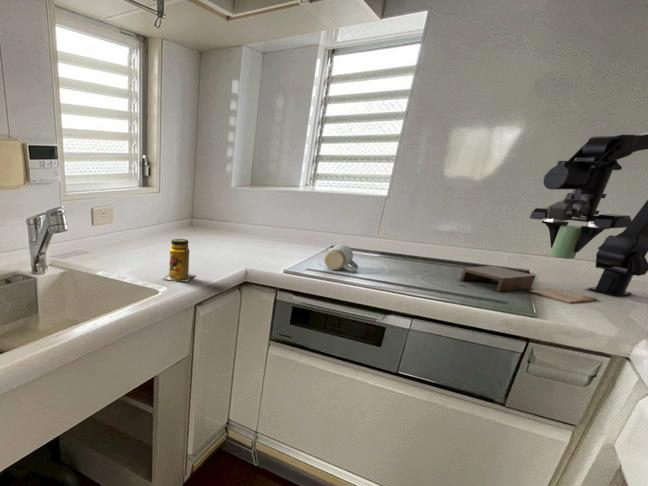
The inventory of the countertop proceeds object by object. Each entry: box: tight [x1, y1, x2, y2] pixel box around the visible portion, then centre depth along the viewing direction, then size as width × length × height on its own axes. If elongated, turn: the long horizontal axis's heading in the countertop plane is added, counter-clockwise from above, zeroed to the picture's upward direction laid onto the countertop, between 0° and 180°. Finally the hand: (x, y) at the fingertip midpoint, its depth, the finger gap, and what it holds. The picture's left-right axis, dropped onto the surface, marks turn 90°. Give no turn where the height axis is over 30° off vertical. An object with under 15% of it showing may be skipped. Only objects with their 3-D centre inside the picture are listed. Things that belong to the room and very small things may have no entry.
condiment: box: [165, 238, 195, 282], centre depth 125 cm, size 7×8×12 cm
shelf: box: [459, 265, 536, 293], centre depth 120 cm, size 12×12×4 cm
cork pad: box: [527, 287, 598, 304], centre depth 111 cm, size 10×10×1 cm
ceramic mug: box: [323, 244, 360, 273], centre depth 136 cm, size 11×8×8 cm
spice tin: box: [548, 224, 582, 260], centre depth 108 cm, size 5×5×8 cm
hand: (564, 250), depth 109 cm, fingers closed on spice tin, 5 cm apart
